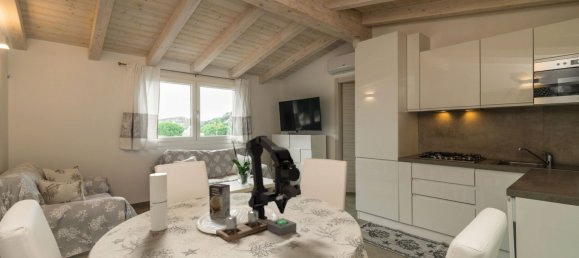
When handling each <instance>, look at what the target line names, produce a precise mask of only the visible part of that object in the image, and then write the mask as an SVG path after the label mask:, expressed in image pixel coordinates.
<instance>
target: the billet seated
mask: <svg viewBox="0 0 579 258" xmlns="http://www.w3.org/2000/svg"><path fill="white" fill-rule="evenodd" d="M237 220H238V219H237V216H235V215H228V216H226V217H225V228H226V234H227V235H231V234H234V233H237V224H238V223H237V222H238V221H237Z"/></svg>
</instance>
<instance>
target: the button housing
mask: <svg viewBox="0 0 579 258" xmlns="http://www.w3.org/2000/svg"><path fill="white" fill-rule="evenodd" d="M280 220H284V221H286V224H285V225H282V226H280V225H278V224H277V222H278V221H280ZM266 224H267V231H269V232H272V233H273V234H276V235H277V236H279V237H281V236H284V235H286V234H290V233H293V234H295V233H297V222H294V221H293V220H289V219H286V218H284V217H282V218H279V219H276V220H272V221H269V222H267V223H266Z"/></svg>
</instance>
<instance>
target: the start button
mask: <svg viewBox="0 0 579 258" xmlns="http://www.w3.org/2000/svg"><path fill="white" fill-rule="evenodd" d="M277 224H278V225H280V226H282V225H285V224H286V221H284V220H280V221H278V222H277Z"/></svg>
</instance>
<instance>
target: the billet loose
mask: <svg viewBox="0 0 579 258" xmlns="http://www.w3.org/2000/svg"><path fill="white" fill-rule="evenodd" d="M247 217H248V218H247V220H248V227H250V228H253V227H256V226H258V220H259V218H258V211H256V210H249V211H248V213H247Z"/></svg>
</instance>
